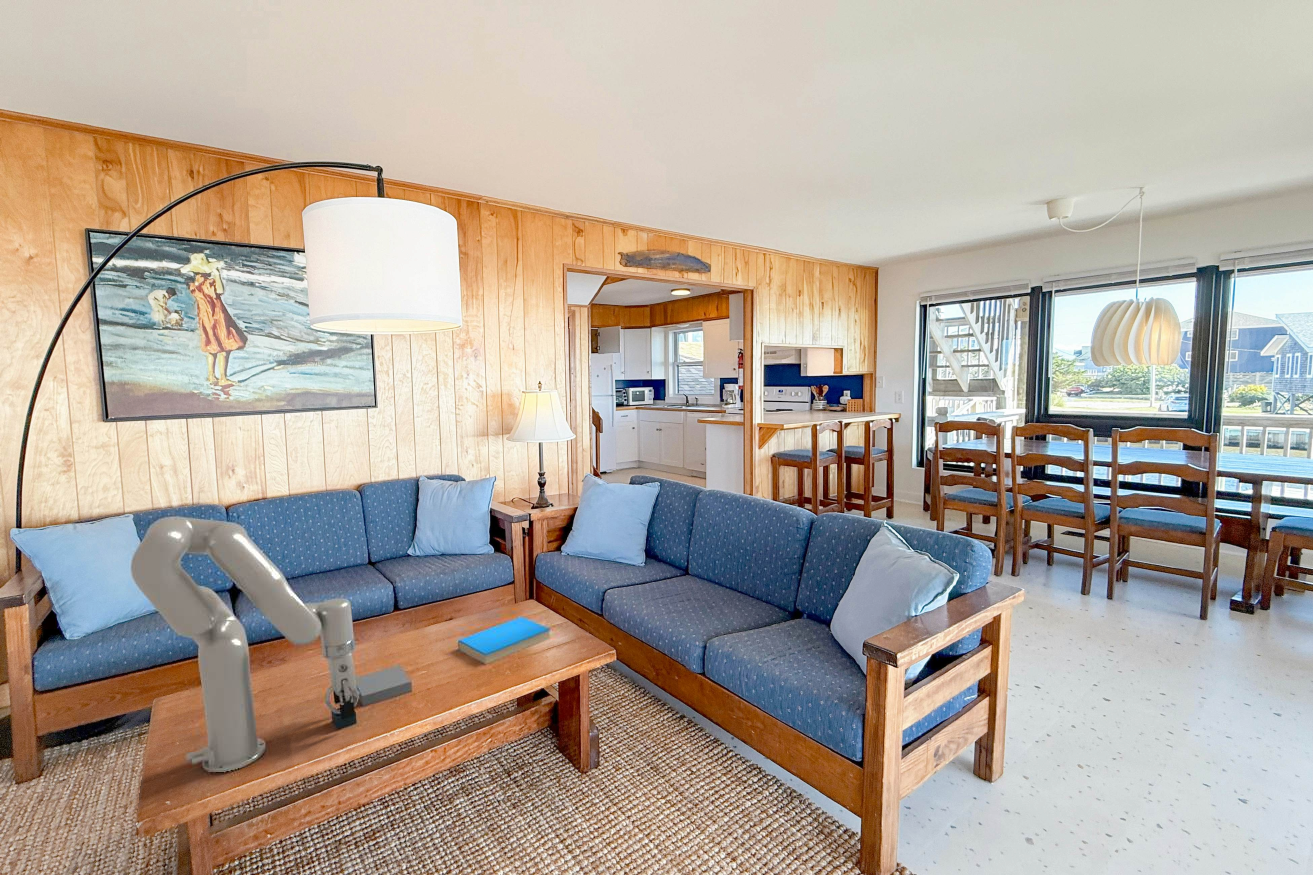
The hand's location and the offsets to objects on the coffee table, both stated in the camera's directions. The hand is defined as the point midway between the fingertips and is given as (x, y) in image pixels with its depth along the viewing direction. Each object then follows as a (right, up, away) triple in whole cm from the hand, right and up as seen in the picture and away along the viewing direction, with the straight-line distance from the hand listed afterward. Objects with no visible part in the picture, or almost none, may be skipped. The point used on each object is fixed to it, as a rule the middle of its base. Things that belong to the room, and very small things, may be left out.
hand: (344, 709), depth 164 cm
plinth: (+3, -2, +17) cm, 17 cm away
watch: (0, -4, 0) cm, 4 cm away
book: (+31, +2, +45) cm, 55 cm away
